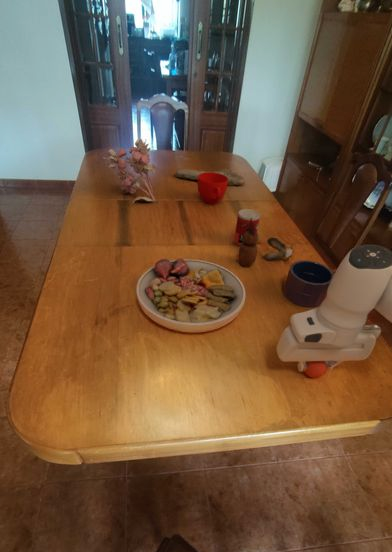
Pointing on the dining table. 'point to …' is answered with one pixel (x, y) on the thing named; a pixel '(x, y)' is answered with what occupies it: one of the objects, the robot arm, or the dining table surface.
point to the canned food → (245, 224)
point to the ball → (315, 368)
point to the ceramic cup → (212, 187)
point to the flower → (138, 165)
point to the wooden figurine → (248, 246)
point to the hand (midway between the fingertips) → (313, 369)
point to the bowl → (190, 295)
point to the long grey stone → (232, 177)
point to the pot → (307, 283)
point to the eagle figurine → (280, 247)
